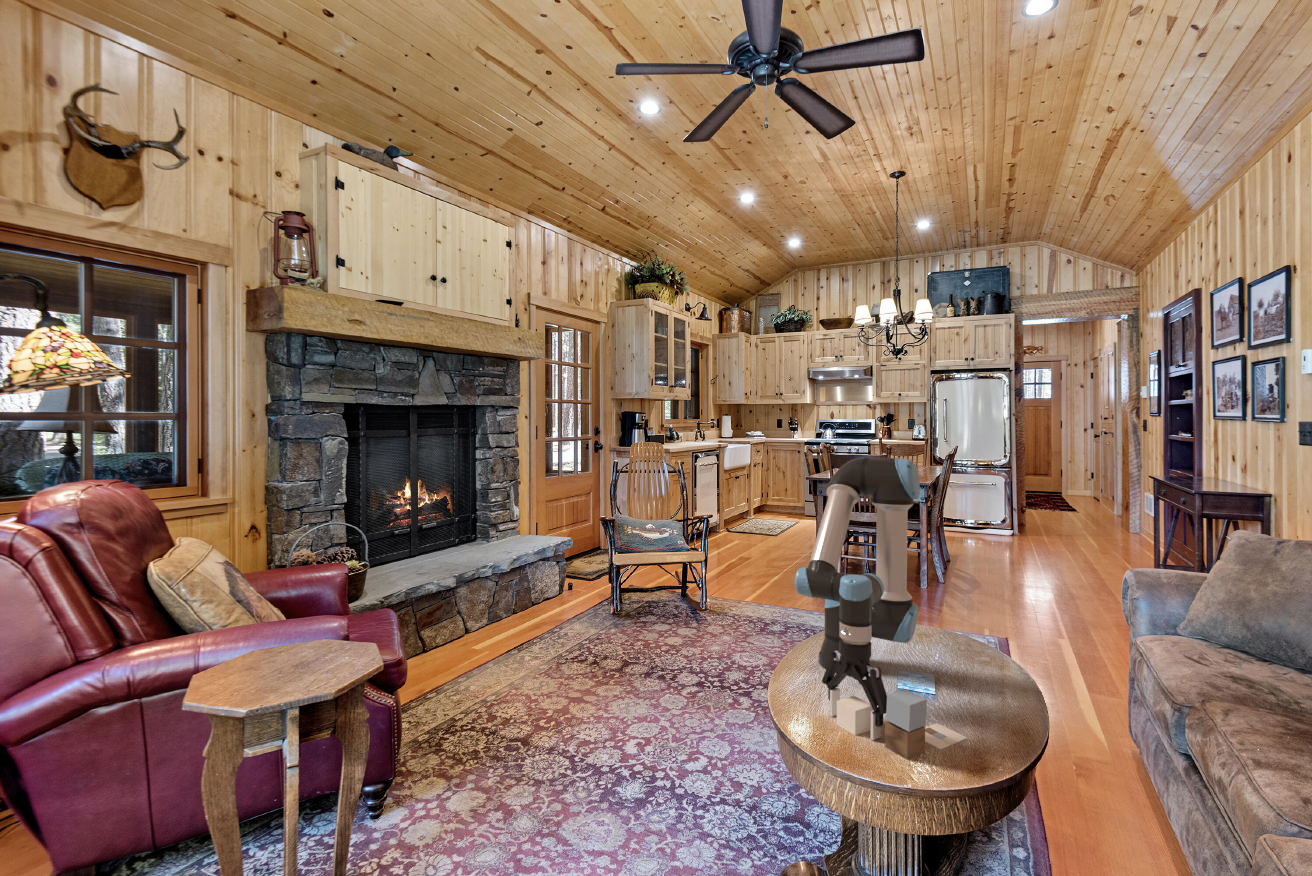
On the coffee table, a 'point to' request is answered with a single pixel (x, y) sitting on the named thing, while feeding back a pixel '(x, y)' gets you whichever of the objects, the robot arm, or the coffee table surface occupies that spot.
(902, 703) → the slate brick
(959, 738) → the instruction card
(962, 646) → the coffee table surface
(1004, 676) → the coffee table surface
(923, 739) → the walnut base brick
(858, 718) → the cream brick
